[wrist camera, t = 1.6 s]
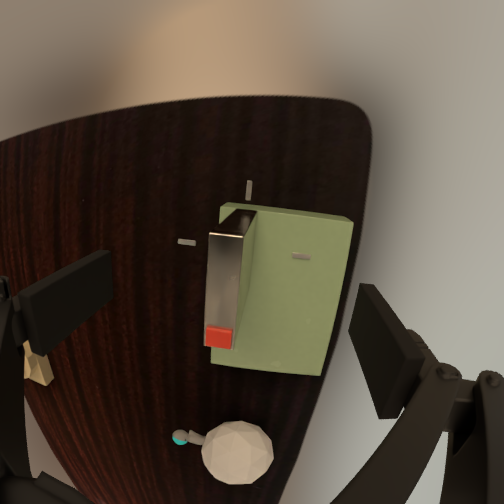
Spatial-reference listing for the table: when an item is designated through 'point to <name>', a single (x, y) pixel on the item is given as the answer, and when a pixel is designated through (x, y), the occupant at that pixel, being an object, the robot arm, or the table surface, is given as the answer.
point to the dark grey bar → (228, 277)
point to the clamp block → (289, 289)
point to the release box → (37, 367)
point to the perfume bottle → (232, 451)
